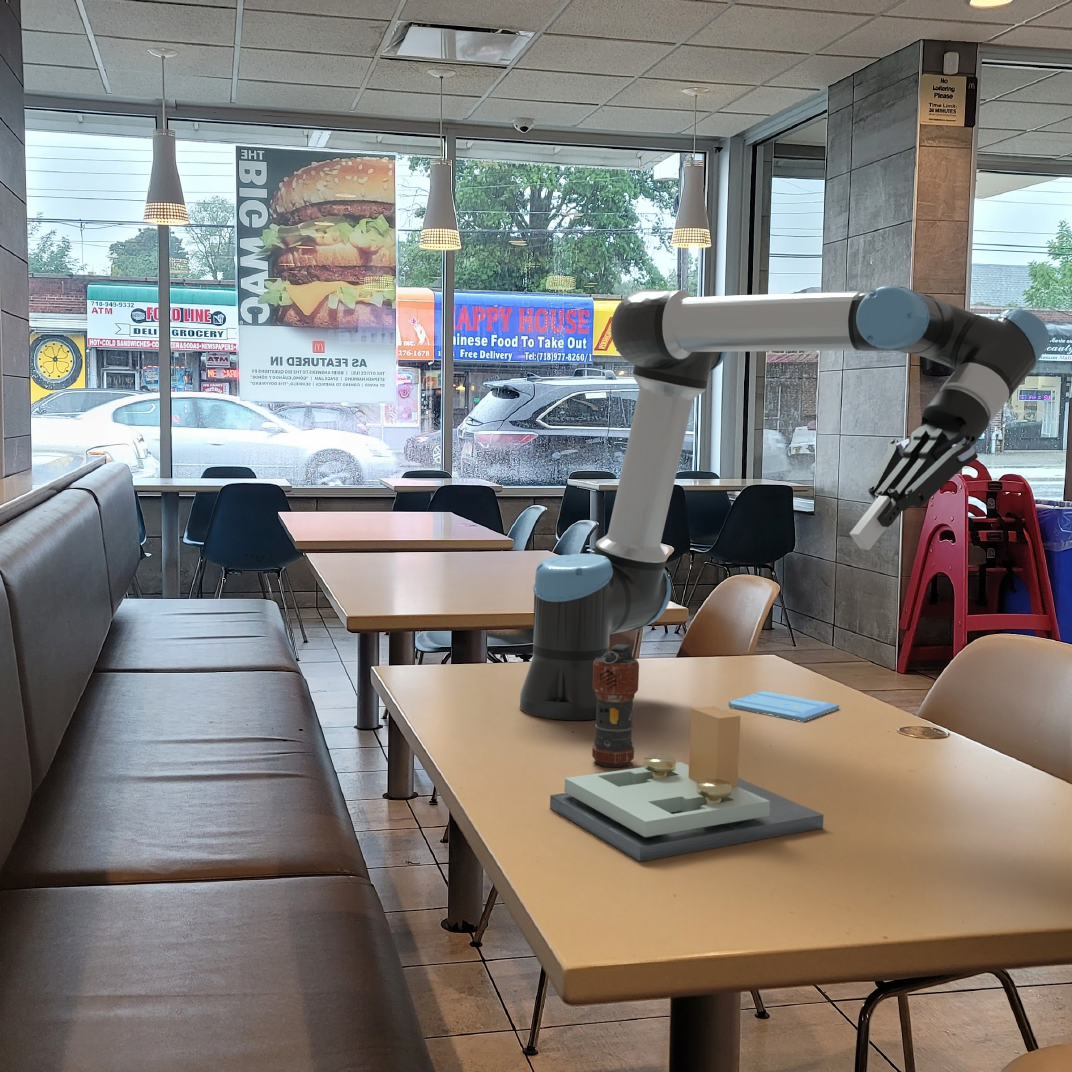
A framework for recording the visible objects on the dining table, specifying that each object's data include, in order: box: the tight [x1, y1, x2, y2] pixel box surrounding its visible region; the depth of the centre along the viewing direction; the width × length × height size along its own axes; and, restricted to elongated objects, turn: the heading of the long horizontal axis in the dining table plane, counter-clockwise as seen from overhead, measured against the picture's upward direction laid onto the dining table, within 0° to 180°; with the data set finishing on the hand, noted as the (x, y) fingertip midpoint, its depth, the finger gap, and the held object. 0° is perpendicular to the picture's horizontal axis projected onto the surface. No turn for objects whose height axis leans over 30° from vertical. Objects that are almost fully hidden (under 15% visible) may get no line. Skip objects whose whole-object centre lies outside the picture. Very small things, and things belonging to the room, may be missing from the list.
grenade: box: [591, 643, 640, 768], centre depth 149 cm, size 6×8×15 cm
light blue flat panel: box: [728, 690, 840, 722], centre depth 182 cm, size 14×12×1 cm
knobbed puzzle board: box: [563, 705, 770, 837], centre depth 126 cm, size 16×16×10 cm
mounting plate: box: [549, 754, 824, 863], centre depth 127 cm, size 18×24×5 cm
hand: (859, 541), depth 139 cm, fingers closed
